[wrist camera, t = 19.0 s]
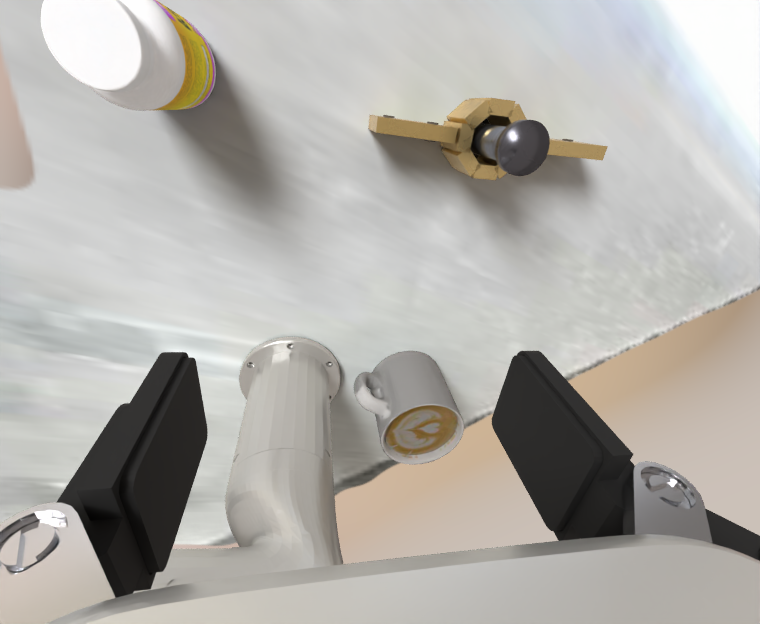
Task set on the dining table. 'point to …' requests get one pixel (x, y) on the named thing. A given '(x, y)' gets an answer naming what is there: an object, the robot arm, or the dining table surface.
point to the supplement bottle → (131, 52)
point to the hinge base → (500, 115)
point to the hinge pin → (513, 145)
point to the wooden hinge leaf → (412, 129)
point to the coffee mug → (411, 407)
